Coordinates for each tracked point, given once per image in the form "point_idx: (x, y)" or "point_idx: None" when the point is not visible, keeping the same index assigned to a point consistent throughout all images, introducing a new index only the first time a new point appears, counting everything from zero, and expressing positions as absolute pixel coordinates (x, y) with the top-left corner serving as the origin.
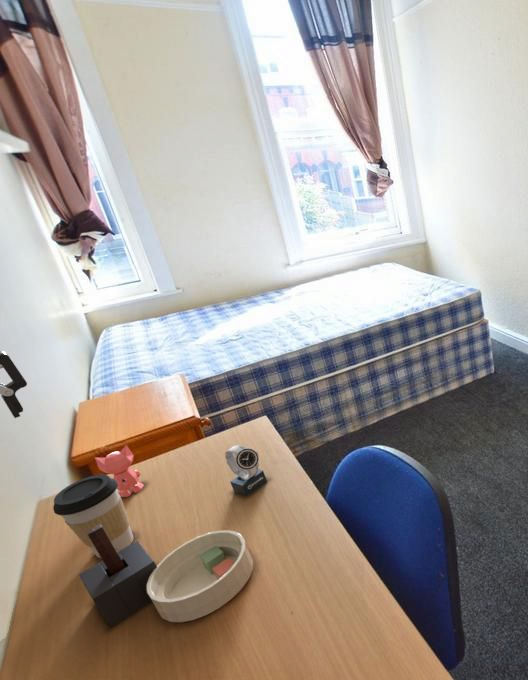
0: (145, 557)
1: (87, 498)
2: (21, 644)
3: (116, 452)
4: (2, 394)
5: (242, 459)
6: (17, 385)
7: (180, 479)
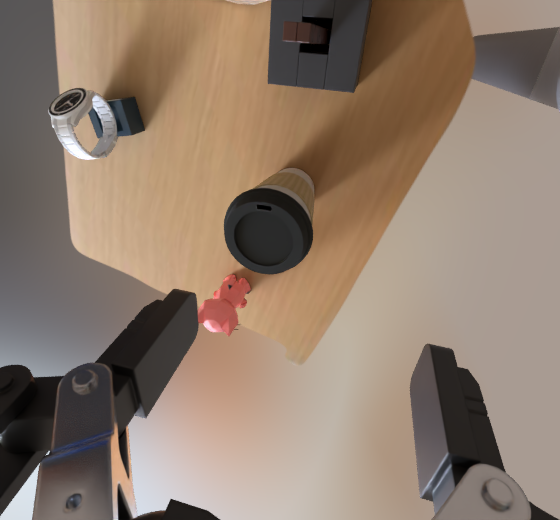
0: (276, 7)
1: (267, 201)
2: (443, 106)
3: (207, 325)
4: (108, 387)
5: (72, 105)
6: (19, 390)
7: (188, 244)
